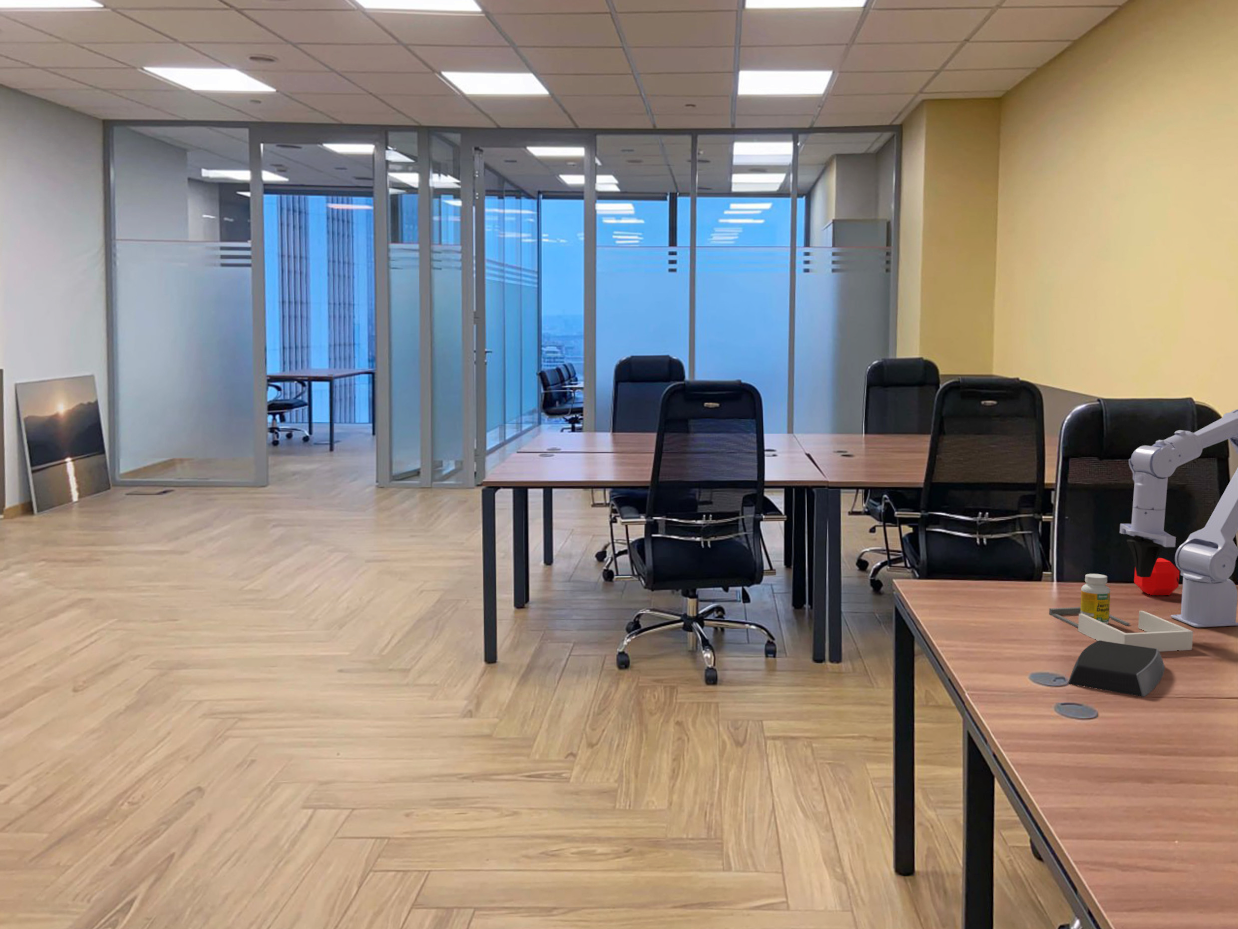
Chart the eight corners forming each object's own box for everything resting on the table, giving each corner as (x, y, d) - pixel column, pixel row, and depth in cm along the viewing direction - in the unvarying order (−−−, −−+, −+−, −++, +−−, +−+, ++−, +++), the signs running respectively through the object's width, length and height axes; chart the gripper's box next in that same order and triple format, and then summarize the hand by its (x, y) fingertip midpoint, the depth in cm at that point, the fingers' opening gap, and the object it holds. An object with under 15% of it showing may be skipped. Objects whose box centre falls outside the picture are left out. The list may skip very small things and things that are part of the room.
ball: (1182, 598, 239) (1184, 563, 238) (1145, 598, 239) (1147, 563, 238) (1165, 589, 247) (1167, 556, 246) (1129, 589, 247) (1131, 556, 246)
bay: (1141, 628, 215) (1142, 610, 215) (1191, 649, 201) (1193, 631, 201) (1078, 631, 213) (1078, 613, 213) (1123, 653, 199) (1124, 634, 198)
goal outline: (1099, 611, 228) (1099, 606, 227) (1129, 625, 217) (1129, 619, 217) (1049, 614, 226) (1049, 608, 226) (1077, 627, 216) (1077, 621, 216)
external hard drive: (1169, 670, 191) (1170, 647, 190) (1148, 701, 175) (1149, 676, 175) (1089, 657, 198) (1091, 635, 198) (1063, 686, 183) (1064, 662, 182)
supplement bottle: (1091, 618, 223) (1093, 571, 222) (1114, 623, 218) (1117, 576, 217) (1074, 621, 220) (1076, 574, 219) (1097, 627, 216) (1099, 579, 215)
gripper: (1107, 502, 219) (1103, 568, 221) (1153, 514, 205) (1148, 585, 206) (1140, 502, 220) (1135, 568, 222) (1187, 513, 206) (1182, 584, 207)
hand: (1143, 576), depth 214 cm, fingers closed
